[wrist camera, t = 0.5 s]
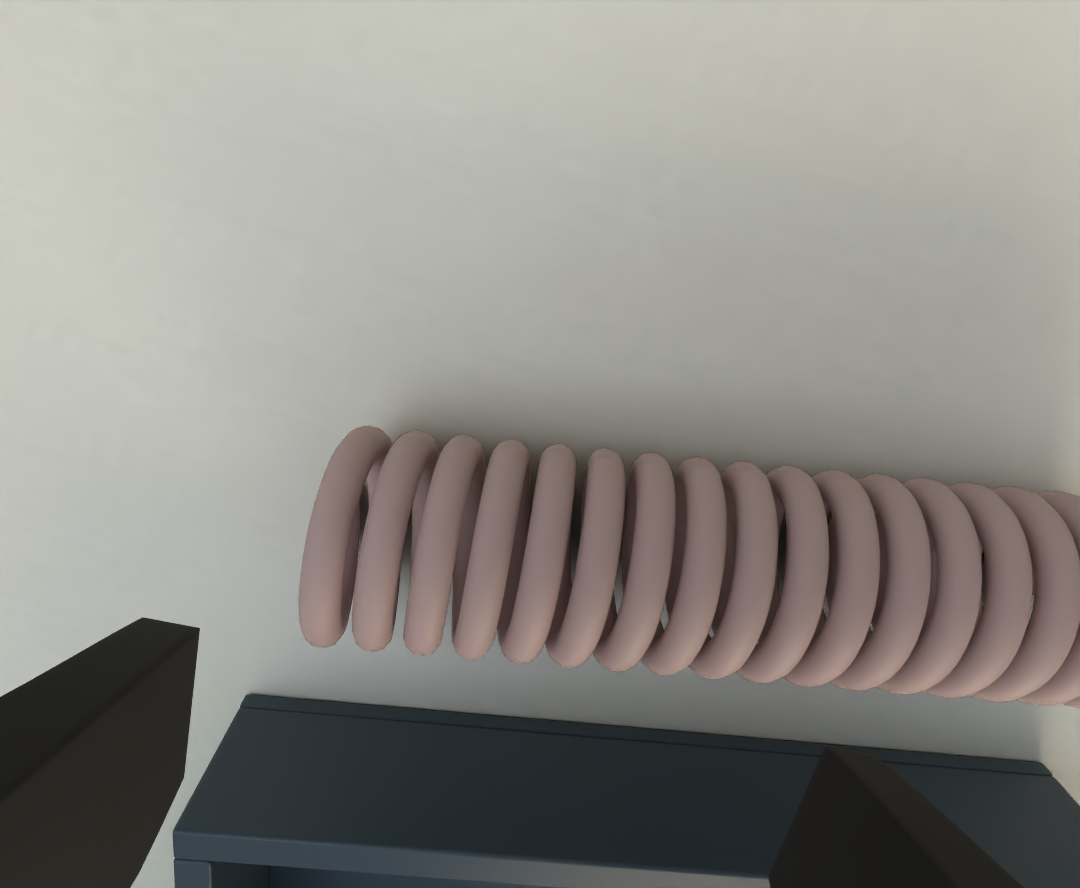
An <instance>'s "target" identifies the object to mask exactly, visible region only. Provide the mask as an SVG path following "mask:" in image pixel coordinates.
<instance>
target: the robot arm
mask: <svg viewBox="0 0 1080 888" xmlns="http://www.w3.org/2000/svg"><path fill="white" fill-rule="evenodd" d="M199 631H200V628H196V627H191V626H186V625H180V624H175V623H170V622H164V621H159V620H154V619H148V618H143V617H142V618H141V619H139V620H137V621H135V622H133V623H131V624H129V625H127V626H126V627H124V628H122V629H120V630H118V631H117V632H115V633H113V634H111V635H109V636H108V637H106V638H104V639H102V640H101V641H99V642H97V643H95V644H94V645H92V646H90V647H88V648H87V649H85V650H83V651H81V652H80V653H78V654H76V655H74V656H73V657H71V658H69V659H67V660H66V661H64V662H62V663H60V664H59V665H57V666H55V667H53V668H52V669H50V670H48V671H46V672H44V673H43V674H41V675H39V676H37V677H36V678H34V679H32V680H30V681H29V682H27V683H25V684H23V685H21V686H19V687H18V688H16V689H14V690H12V691H10V692H9V693H7V694H5V695H3V696H1V697H0V888H130V887H131V885H132V884H133V882H134V880H135V879H136V877H137V875H138V874H139V872H140V870H141V868H142V866H143V864H144V862H145V859H146V857H147V855H148V853H149V851H150V849H151V847H152V845H153V843H154V841H155V839H156V837H157V835H158V833H159V830H160V828H161V826H162V824H163V822H164V820H165V818H166V815H167V813H168V811H169V809H170V807H171V804H172V802H173V800H174V798H175V796H176V794H177V791H178V789H179V787H180V785H181V783H182V781H183V778H184V772H185V763H186V753H187V744H188V735H189V725H190V716H191V706H192V697H193V688H194V678H195V669H196V659H197V650H198V641H199ZM768 878H769V883H770V888H1024V887H1023V886H1022V885H1021V884H1020V883H1019V882H1018V881H1016V880H1015V879H1014V878H1013V877H1012V876H1011V875H1010V874H1009V873H1008V872H1007V871H1006V870H1004V869H1003V868H1002V867H1001V866H1000V865H999V864H998V863H997V862H996V861H995V860H994V859H992V858H991V857H990V856H989V855H988V854H987V853H986V852H985V851H984V850H983V849H982V848H980V847H979V846H978V845H977V844H976V843H975V842H974V841H973V840H972V839H971V838H970V837H969V836H967V835H966V834H965V833H964V832H963V831H962V830H961V829H960V828H959V827H958V826H957V825H955V824H954V823H953V822H952V821H951V820H950V819H949V818H948V817H947V816H946V815H944V814H943V813H942V812H941V811H940V810H939V809H938V808H937V807H936V806H935V805H933V804H932V803H931V802H930V801H929V800H928V799H927V798H926V797H924V796H923V795H922V794H921V793H920V792H919V791H918V790H917V789H915V788H914V787H913V786H912V785H911V784H910V783H909V782H907V781H906V780H905V779H904V778H903V777H902V776H900V775H899V774H898V773H897V772H896V771H894V770H893V769H892V768H891V767H890V766H888V765H887V764H886V763H885V762H883V761H882V760H881V759H879V758H878V757H877V756H876V755H874V754H869V753H863V752H858V751H853V750H847V749H842V748H837V747H831V746H825V748H824V750H823V752H822V755H821V757H820V759H819V762H818V764H817V766H816V768H815V771H814V773H813V775H812V778H811V780H810V782H809V784H808V787H807V789H806V791H805V794H804V796H803V798H802V800H801V803H800V805H799V807H798V809H797V812H796V814H795V816H794V819H793V821H792V823H791V825H790V828H789V830H788V832H787V835H786V837H785V839H784V841H783V844H782V846H781V848H780V851H779V853H778V855H777V857H776V860H775V862H774V864H773V866H772V869H771V871H770V873H769V876H768Z"/></svg>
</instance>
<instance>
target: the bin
mask: <svg viewBox="0 0 1080 888" xmlns="http://www.w3.org/2000/svg"><path fill="white" fill-rule="evenodd" d="M825 746H831V747H837V748H842V749H847V750H853V751H858V752H863V753H869V754H874V755H876V756H877V757H878V758H879V759H881V760H882V761H883V762H885V763H886V764H887V765H888V766H890V767H891V768H892V769H893V770H894V771H896V772H897V773H898V774H899V775H900V776H902V777H903V778H904V779H905V780H906V781H907V782H909V783H910V784H911V785H912V786H913V787H914V788H915V789H917V790H918V791H919V792H920V793H921V794H922V795H923V796H924V797H926V798H927V799H928V800H929V801H930V802H931V803H932V804H933V805H935V806H936V807H937V808H938V809H939V810H940V811H941V812H942V813H943V814H944V815H946V816H947V817H948V818H949V819H950V820H951V821H952V822H953V823H954V824H955V825H957V826H958V827H959V828H960V829H961V830H962V831H963V832H964V833H965V834H966V835H967V836H969V837H970V838H971V839H972V840H973V841H974V842H975V843H976V844H977V845H978V846H979V847H980V848H982V849H983V850H984V851H985V852H986V853H987V854H988V855H989V856H990V857H991V858H992V859H994V860H995V861H996V862H997V863H998V864H999V865H1000V866H1001V867H1002V868H1003V869H1004V870H1006V871H1007V872H1008V873H1009V874H1010V875H1011V876H1012V877H1013V878H1014V879H1015V880H1016V881H1018V882H1019V883H1020V884H1021V885H1022V886H1023V887H1024V888H1080V806H1079V805H1078V804H1077V802H1076V801H1075V800H1074V799H1073V798H1072V797H1071V796H1070V795H1069V793H1068V792H1067V791H1066V790H1065V789H1064V788H1063V787H1062V786H1061V784H1060V783H1059V782H1058V781H1057V780H1056V779H1055V778H1054V777H1052V774H1051V772H1050V771H1049V770H1048V769H1047V768H1046V767H1045V766H1044V765H1043V764H1042V763H1037V762H1025V761H1014V760H1002V759H990V758H979V757H967V756H956V755H944V754H932V753H921V752H909V751H898V750H886V749H874V748H863V747H851V746H840V745H828V744H817V743H805V742H793V741H782V740H770V739H759V738H747V737H735V736H724V735H712V734H701V733H689V732H677V731H666V730H654V729H643V728H631V727H620V726H608V725H596V724H585V723H573V722H562V721H550V720H538V719H527V718H515V717H504V716H492V715H480V714H469V713H457V712H446V711H434V710H423V709H411V708H399V707H388V706H376V705H365V704H353V703H341V702H330V701H318V700H307V699H295V698H283V697H272V696H260V695H249V694H248V695H246V696H245V698H244V700H243V702H242V704H241V705H240V709H239V710H238V712H237V714H236V716H235V717H234V719H233V721H232V723H231V725H230V727H229V728H228V730H227V732H226V734H225V736H224V738H223V739H222V741H221V743H220V745H219V747H218V749H217V751H216V752H215V754H214V756H213V758H212V760H211V762H210V763H209V765H208V767H207V769H206V771H205V773H204V774H203V776H202V778H201V780H200V782H199V784H198V785H197V787H196V789H195V791H194V793H193V795H192V797H191V798H190V800H189V802H188V804H187V806H186V808H185V809H184V811H183V813H182V815H181V817H180V819H179V820H178V822H177V824H176V826H175V828H174V830H173V849H174V857H175V859H174V877H175V888H770V883H769V878H768V876H769V873H770V871H771V869H772V866H773V864H774V862H775V860H776V857H777V855H778V853H779V851H780V848H781V846H782V844H783V841H784V839H785V837H786V835H787V832H788V830H789V828H790V825H791V823H792V821H793V819H794V816H795V814H796V812H797V809H798V807H799V805H800V803H801V800H802V798H803V796H804V794H805V791H806V789H807V787H808V784H809V782H810V780H811V778H812V775H813V773H814V771H815V768H816V766H817V764H818V762H819V759H820V757H821V755H822V752H823V750H824V748H825Z"/></svg>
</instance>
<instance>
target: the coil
mask: <svg viewBox="0 0 1080 888" xmlns="http://www.w3.org/2000/svg"><path fill="white" fill-rule="evenodd" d="M575 478H576V459H575V456H574V452H573V451H572V450H570V449H569V448H568V447H567V446H565V445H561V444H555V445H552V446H549V447H548V448H547V449H546V450H545V451H544V452H543V453H542V455H541V459H540V463H539V468H538V473H537V479H536V485H535V492H534V498H533V504H532V511H531V517H530V523H529V516H530V457H529V453H528V450H527V448H526V447H525V446H524V445H523V444H522V443H521V442H520V441H516V440H512V439H510V440H507V441H503V442H500V444H499V445H498V446H497V447H496V448H495V449H494V450H493V452H492V455H491V457H490V461H489V464H488V468H487V471H486V461H485V456H484V452H483V449H482V446H481V444H480V443H479V442H478V441H477V440H476V439H475V438H474V437H471V436H467V435H460V436H457V437H453V438H452V439H451V440H450V441H449V442H448V443H447V444H446V445H445V446H444V448H443V449H442V451H441V453H439V449H438V446H437V444H436V442H435V440H434V439H433V438H432V437H431V436H429V435H428V434H427V433H426V432H422V431H418V430H414V431H410V432H407V433H404V434H403V435H401V436H400V437H399V438H398V439H397V440H396V442H395V443H394V444H393V443H392V441H391V439H390V438H389V437H388V436H387V435H386V434H385V433H384V432H383V431H382V430H381V429H379V428H376V427H372V426H363V427H359V428H356V429H354V430H352V431H351V432H350V433H349V434H348V435H347V436H346V437H345V438H344V439H343V440H342V441H341V443H340V444H339V445H338V447H337V448H336V450H335V451H334V453H333V455H332V457H331V459H330V461H329V463H328V465H327V468H326V470H325V473H324V475H323V478H322V481H321V484H320V487H319V489H318V493H317V496H316V500H315V503H314V507H313V511H312V515H311V519H310V523H309V527H308V532H307V537H306V542H305V548H304V554H303V560H302V568H301V576H300V586H299V621H300V625H301V629H302V633H303V636H304V638H305V639H306V640H307V641H308V642H309V643H310V644H311V645H312V646H315V647H321V648H326V647H329V646H332V645H334V644H336V642H337V641H338V640H339V639H340V638H341V637H342V635H343V634H344V632H345V629H346V626H347V623H348V619H349V615H350V610H351V605H352V599H353V608H352V632H353V635H354V638H355V641H356V644H357V645H358V646H360V647H361V648H362V649H363V650H366V651H372V652H376V651H378V650H381V649H383V648H385V647H386V645H387V644H388V643H389V642H390V641H391V638H392V634H393V629H394V624H395V618H396V611H397V603H398V593H399V582H400V569H401V557H402V552H403V546H404V541H405V536H406V531H407V527H408V522H409V517H410V513H411V509H412V548H411V569H410V585H409V594H408V601H407V608H406V616H405V624H404V634H403V638H404V641H405V645H406V648H408V649H409V650H410V651H411V652H412V653H413V654H416V655H422V656H425V655H427V654H430V653H433V652H434V651H435V650H436V649H437V647H438V646H439V645H440V643H441V639H442V634H443V628H444V623H445V618H446V612H447V606H448V600H449V595H450V589H451V583H452V577H453V602H452V642H453V645H454V648H455V651H456V652H457V653H458V654H459V655H460V656H461V657H462V658H466V659H471V660H474V659H477V658H480V657H482V656H484V655H485V653H486V652H487V651H488V650H489V648H490V647H491V645H492V642H493V640H494V636H495V633H496V629H497V631H498V639H499V643H500V646H501V649H502V652H503V654H504V656H505V657H507V658H508V659H509V660H510V661H511V662H515V663H520V664H524V663H526V662H529V661H532V660H533V659H534V658H535V657H536V656H537V655H538V653H539V652H540V651H541V649H542V648H543V646H544V644H545V645H546V648H547V651H548V653H549V656H550V657H551V658H552V659H553V660H554V661H555V662H556V663H557V664H559V665H560V666H564V667H569V668H573V667H576V666H578V665H581V664H583V663H584V662H585V661H586V660H587V659H588V657H589V656H590V655H591V653H592V652H593V655H594V657H595V658H596V660H597V661H598V662H599V663H600V664H601V665H603V666H604V667H605V668H606V669H608V670H613V671H624V670H627V669H629V668H632V667H633V666H635V665H636V664H637V663H638V662H639V661H640V660H641V661H642V663H643V664H644V665H645V666H646V667H647V668H649V669H650V670H651V671H652V672H654V673H656V674H661V675H673V674H675V673H678V672H680V671H682V670H684V669H686V668H687V667H688V666H689V667H690V668H691V669H692V670H693V671H694V672H695V673H696V674H698V675H700V676H702V677H705V678H710V679H721V678H723V677H726V676H728V675H731V674H733V673H735V672H737V673H738V674H739V675H740V676H742V677H743V678H744V679H747V680H750V681H753V682H758V683H769V682H772V681H774V680H777V679H779V678H782V677H783V678H785V679H786V680H788V681H789V682H791V683H794V684H797V685H802V686H806V687H816V686H819V685H822V684H825V683H828V682H831V683H832V684H834V685H836V686H838V687H842V688H845V689H850V690H867V689H870V688H873V687H878V688H880V689H882V690H885V691H889V692H893V693H898V694H914V693H917V692H921V691H924V692H926V693H928V694H933V695H937V696H941V697H945V698H960V697H964V696H968V695H969V696H972V697H975V698H979V699H984V700H988V701H993V702H1006V701H1010V700H1014V699H1015V700H1017V701H1021V702H1026V703H1030V704H1035V705H1056V704H1064V705H1068V706H1072V707H1077V708H1080V497H1078V496H1075V495H1072V494H1068V493H1064V492H1059V491H1042V492H1037V493H1033V492H1031V491H1028V490H1025V489H1021V488H1016V487H999V488H995V489H992V490H990V489H989V488H987V487H984V486H981V485H978V484H973V483H962V482H960V483H956V484H952V485H949V486H945V485H943V484H942V483H939V482H937V481H934V480H929V479H922V478H916V479H912V480H909V481H906V482H903V483H900V482H899V481H898V480H897V479H894V478H892V477H890V476H885V475H881V474H872V475H869V476H866V477H863V478H859V479H857V480H855V479H854V478H853V477H852V476H851V475H849V474H847V473H845V472H841V471H837V470H827V471H824V472H821V473H818V474H815V475H814V476H813V477H812V478H811V477H810V476H809V475H808V474H807V473H806V472H805V471H803V470H802V469H800V468H797V467H793V466H782V467H779V468H776V469H773V470H771V471H770V472H769V473H768V474H767V475H765V474H764V472H762V471H761V470H760V469H759V468H758V467H757V466H756V465H754V464H753V463H748V462H743V461H739V462H736V463H733V464H730V465H729V466H727V467H726V468H725V470H724V471H723V472H722V473H721V474H719V472H718V470H717V468H716V467H715V466H714V465H713V464H712V463H711V462H710V461H708V460H707V459H704V458H699V457H693V458H690V459H687V460H685V461H684V462H683V463H682V464H681V465H680V466H679V467H678V468H677V470H676V471H675V474H674V476H673V475H672V471H671V468H670V464H669V463H668V461H667V460H666V459H664V458H663V457H662V456H661V455H659V454H654V453H646V454H643V455H640V456H639V458H638V459H637V460H636V461H635V462H634V463H633V465H632V467H631V470H630V474H629V479H628V484H627V489H626V495H625V470H624V466H623V463H622V459H621V457H620V456H619V455H618V454H617V453H616V452H615V451H614V450H609V449H605V448H603V449H599V450H596V451H594V452H593V453H592V454H591V455H590V457H589V458H588V461H587V465H586V470H585V476H584V484H583V495H582V510H581V533H580V544H579V550H578V557H577V563H576V568H575V574H574V579H573V584H572V582H571V519H572V506H573V497H574V488H575ZM366 479H367V485H368V496H369V510H368V515H367V519H366V523H365V528H364V533H363V538H362V543H361V548H360V554H359V560H358V548H359V500H360V497H361V493H362V490H363V487H364V484H365V482H366ZM829 510H831V512H832V518H831V521H830V525H829V529H828V525H827V518H826V517H827V515H828V512H829ZM874 511H876V513H875V514H874ZM784 513H785V517H786V527H787V535H786V543H785V566H784V570H785V577H784V583H783V589H782V594H781V598H780V594H779V586H778V574H777V556H778V541H779V533H780V528H781V524H782V520H783V516H784ZM621 539H622V582H623V598H622V602H621V606H620V610H619V613H618V616H617V612H616V605H615V596H614V584H615V578H616V573H617V567H618V561H619V554H620V547H621ZM982 552H984V561H983V570H982V566H981V557H982ZM357 561H358V566H357ZM356 571H357V573H356ZM355 579H356V580H355ZM981 586H982V593H983V602H984V606H983V609H982V604H981V599H980V598H981ZM354 587H355V588H354ZM353 593H354V597H353ZM825 593H826V597H827V604H828V609H829V613H828V616H827V618H826V617H825V613H824V610H823V603H824V598H825ZM1032 595H1035V597H1034V604H1033V610H1032V614H1031V617H1030V621H1029V624H1028V626H1027V623H1028V620H1029V615H1030V608H1031V602H1032ZM665 599H666V606H667V612H668V617H669V621H668V624H667V626H666V628H665V630H664V629H663V626H662V623H661V620H660V617H661V613H662V610H663V606H664V602H665ZM870 623H872V626H873V631H871V629H870ZM711 625H712V630H713V633H714V636H713V637H712V638H711V637H710V636H709V634H708V632H709V630H710V627H711ZM757 642H758V644H757Z"/></svg>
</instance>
